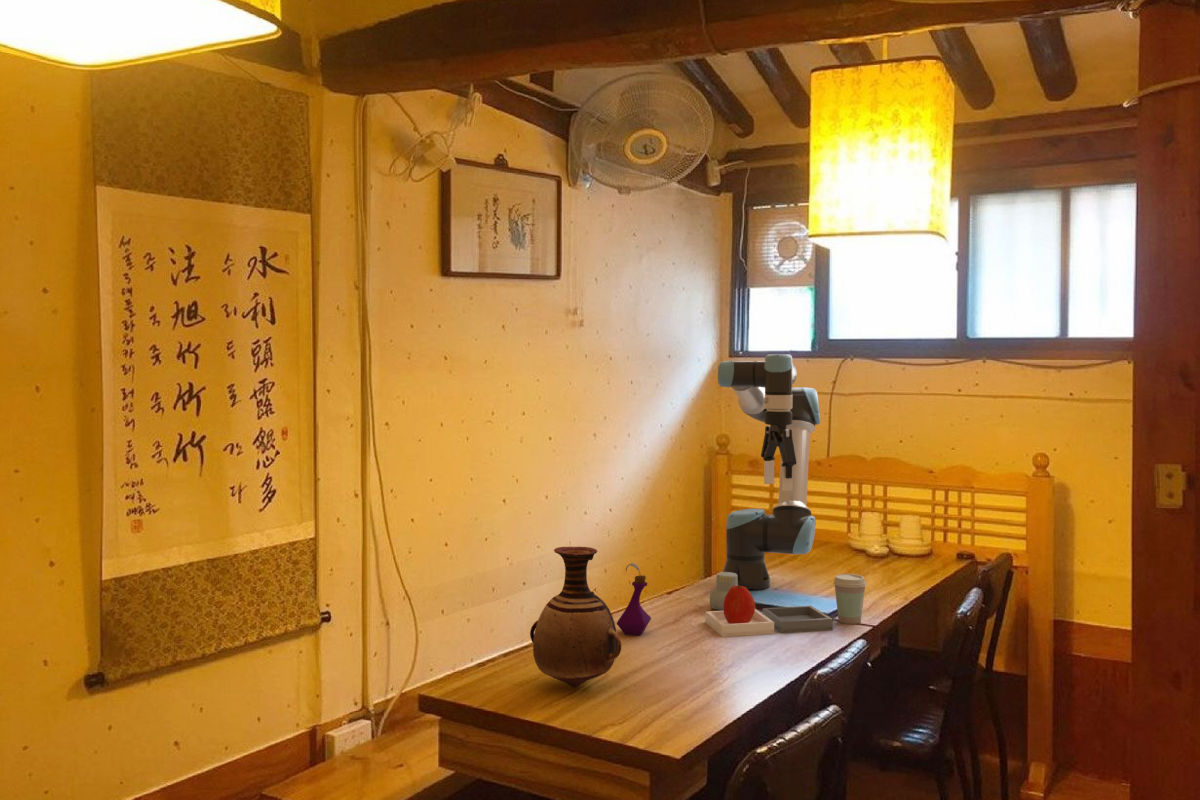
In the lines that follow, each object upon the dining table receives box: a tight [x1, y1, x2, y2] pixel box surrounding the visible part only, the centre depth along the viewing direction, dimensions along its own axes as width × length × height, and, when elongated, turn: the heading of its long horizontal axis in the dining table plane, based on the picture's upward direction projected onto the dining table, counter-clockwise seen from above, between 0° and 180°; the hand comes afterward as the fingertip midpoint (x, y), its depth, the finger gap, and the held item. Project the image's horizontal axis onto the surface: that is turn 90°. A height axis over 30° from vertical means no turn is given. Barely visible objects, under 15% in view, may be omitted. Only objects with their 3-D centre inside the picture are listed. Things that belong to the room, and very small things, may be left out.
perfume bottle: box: [616, 562, 652, 637], centre depth 264 cm, size 8×8×18 cm
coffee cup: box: [833, 573, 867, 625], centre depth 275 cm, size 8×9×12 cm
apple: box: [723, 584, 756, 624], centre depth 269 cm, size 8×8×11 cm
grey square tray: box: [761, 605, 834, 634], centre depth 272 cm, size 14×14×3 cm
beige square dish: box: [704, 608, 775, 638], centre depth 269 cm, size 14×14×3 cm
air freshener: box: [709, 571, 738, 611], centre depth 288 cm, size 11×8×10 cm
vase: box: [529, 546, 622, 688], centre depth 222 cm, size 21×18×30 cm
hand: (777, 487), depth 284 cm, fingers open, 13 cm apart
